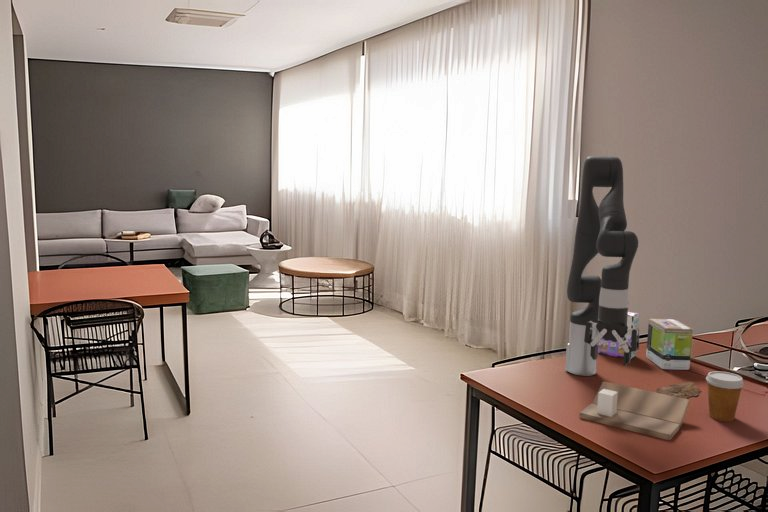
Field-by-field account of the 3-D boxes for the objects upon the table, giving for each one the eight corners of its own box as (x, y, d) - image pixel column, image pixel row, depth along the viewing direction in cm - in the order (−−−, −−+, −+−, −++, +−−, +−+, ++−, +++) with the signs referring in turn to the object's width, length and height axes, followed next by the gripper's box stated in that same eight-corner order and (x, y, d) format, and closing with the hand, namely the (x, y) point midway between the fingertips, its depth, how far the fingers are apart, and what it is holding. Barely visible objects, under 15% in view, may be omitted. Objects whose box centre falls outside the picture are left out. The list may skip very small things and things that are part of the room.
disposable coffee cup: (739, 426, 181) (743, 384, 179) (700, 419, 186) (704, 377, 184) (741, 415, 189) (745, 374, 187) (705, 408, 194) (708, 368, 192)
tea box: (690, 370, 229) (694, 328, 227) (661, 370, 230) (664, 328, 227) (672, 357, 244) (675, 318, 242) (645, 357, 244) (647, 317, 242)
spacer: (597, 413, 185) (598, 392, 184) (602, 409, 188) (603, 388, 187) (611, 416, 183) (612, 395, 182) (616, 412, 186) (617, 391, 185)
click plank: (593, 406, 194) (592, 403, 193) (603, 385, 200) (602, 381, 199) (680, 427, 180) (680, 423, 179) (689, 403, 185) (688, 399, 184)
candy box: (637, 356, 245) (640, 313, 242) (630, 360, 240) (633, 315, 238) (601, 349, 254) (603, 307, 251) (594, 352, 250) (596, 309, 247)
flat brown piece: (678, 408, 195) (678, 405, 195) (641, 398, 203) (642, 395, 203) (712, 388, 212) (713, 385, 212) (678, 380, 220) (678, 377, 220)
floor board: (579, 418, 186) (579, 412, 186) (592, 407, 194) (592, 402, 193) (669, 440, 171) (670, 434, 171) (680, 428, 179) (680, 423, 179)
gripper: (582, 302, 182) (579, 360, 185) (635, 310, 174) (632, 370, 176) (592, 298, 188) (589, 354, 191) (644, 305, 180) (640, 363, 182)
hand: (610, 362), depth 183 cm, fingers open, 8 cm apart
